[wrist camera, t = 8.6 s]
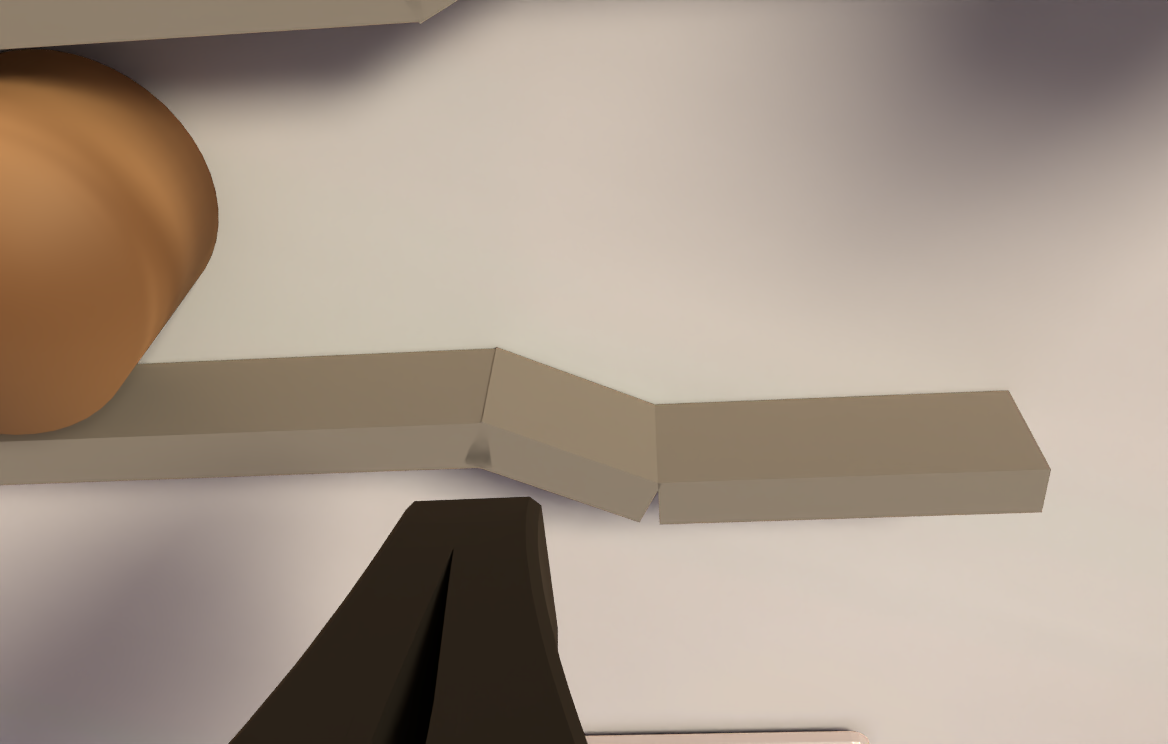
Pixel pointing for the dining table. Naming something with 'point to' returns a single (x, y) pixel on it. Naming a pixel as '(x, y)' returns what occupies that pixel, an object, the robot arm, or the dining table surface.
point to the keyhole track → (508, 389)
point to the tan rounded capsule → (89, 233)
